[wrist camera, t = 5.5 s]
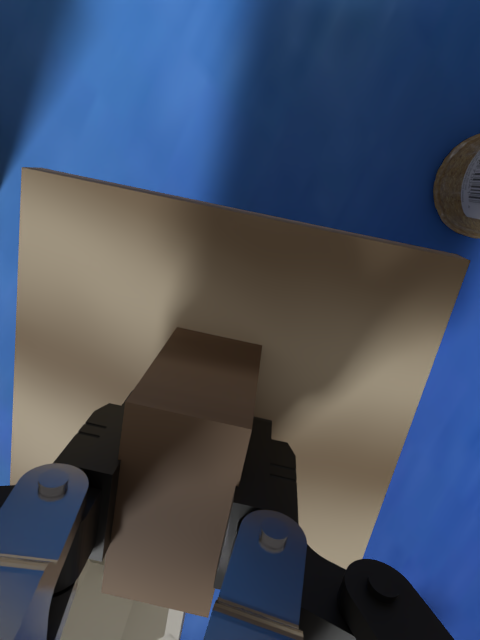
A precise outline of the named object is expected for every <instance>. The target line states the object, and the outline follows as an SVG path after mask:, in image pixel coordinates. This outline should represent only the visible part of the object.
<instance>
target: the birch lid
mask: <svg viewBox="0 0 480 640" xmlns="http://www.w3.org/2000/svg"><path fill="white" fill-rule="evenodd" d="M469 263H470V260H468V259H465V258H463V257H461V256H459V255H457V254H453V253H448V252H443V251H438V250H434V249H429V248H424V247H419V246H414V245H410V244H405V243H400V242H395V241H390V240H386V239H381V238H376V237H371V236H366V235H362V234H357V233H352V232H347V231H342V230H338V229H333V228H328V227H323V226H318V225H314V224H309V223H304V222H299V221H294V220H290V219H285V218H280V217H275V216H270V215H265V214H261V213H256V212H251V211H246V210H241V209H237V208H232V207H227V206H222V205H217V204H213V203H208V202H203V201H198V200H193V199H189V198H184V197H179V196H174V195H169V194H165V193H160V192H155V191H150V190H145V189H141V188H136V187H131V186H126V185H121V184H116V183H112V182H107V181H102V180H97V179H92V178H88V177H83V176H78V175H73V174H68V173H64V172H59V171H54V170H49V169H44V168H29V167H22V177H21V204H20V231H19V258H18V285H17V312H16V339H15V366H14V393H13V420H12V447H11V475H10V485H16V483H17V482H18V480H19V479H20V478H21V477H22V476H23V475H24V474H25V473H26V472H28V471H29V470H31V469H33V468H35V467H38V466H41V465H46V464H52V463H53V462H54V461H55V460H56V458H57V457H58V456H59V455H60V453H61V452H62V451H63V450H64V448H65V447H66V446H67V445H68V443H69V442H70V441H71V440H72V438H73V437H74V436H75V435H76V433H78V431H79V430H80V428H81V427H82V426H83V425H84V424H85V423H86V421H87V420H88V418H89V417H90V416H91V415H92V413H93V412H94V411H95V410H97V409H99V408H101V407H103V406H105V405H107V404H109V403H112V404H116V405H121V406H122V404H123V403H124V401H125V400H126V398H127V397H128V396H129V394H130V393H131V391H132V390H133V391H132V393H131V394H130V396H129V397H128V398H127V400H126V401H125V408H124V416H123V424H122V432H121V439H120V447H119V455H118V460H121V464H120V472H119V479H118V487H117V495H116V502H115V510H114V518H113V526H112V533H111V541H110V545H109V548H108V550H107V552H106V558H105V566H104V573H103V581H102V589H101V593H104V594H109V595H113V596H117V597H121V598H126V599H130V600H134V601H139V602H143V603H147V604H152V605H156V606H160V607H165V608H169V609H173V610H177V611H182V612H186V613H190V614H195V615H199V616H203V617H208V615H209V611H210V607H211V603H212V598H213V594H214V590H215V588H213V586H214V581H215V575H216V569H217V564H218V560H219V556H220V551H221V547H222V543H223V538H224V534H225V530H226V525H227V521H228V517H229V512H230V508H231V504H232V499H233V495H234V491H235V486H238V487H239V483H240V479H241V474H242V470H243V466H244V461H245V457H246V453H247V449H248V444H249V440H250V436H251V431H252V425H253V417H259V418H263V419H268V420H272V434H271V439H274V440H278V441H283V442H287V443H288V444H289V446H290V447H291V449H292V450H293V452H294V454H295V455H296V475H297V481H296V483H297V498H298V521H299V526H300V527H301V528H302V530H303V531H304V533H305V536H306V539H307V544H308V545H309V546H310V547H311V549H313V550H314V551H315V552H316V553H317V554H319V555H320V556H321V557H323V558H325V559H327V560H328V561H330V562H332V563H334V564H336V565H338V566H340V567H342V568H344V569H347V567H348V566H349V565H350V564H351V563H352V562H354V561H356V560H359V559H362V558H363V555H364V552H365V550H366V547H367V544H368V541H369V539H370V536H371V533H372V530H373V528H374V525H375V522H376V519H377V516H378V514H379V511H380V508H381V505H382V503H383V500H384V497H385V494H386V492H387V489H388V486H389V483H390V481H391V478H392V475H393V472H394V470H395V467H396V464H397V461H398V459H399V456H400V453H401V450H402V448H403V445H404V442H405V439H406V437H407V434H408V431H409V428H410V426H411V423H412V420H413V417H414V414H415V412H416V409H417V406H418V403H419V401H420V398H421V395H422V392H423V390H424V387H425V384H426V381H427V379H428V376H429V373H430V370H431V368H432V365H433V362H434V359H435V357H436V354H437V351H438V348H439V346H440V343H441V340H442V337H443V335H444V332H445V329H446V326H447V324H448V321H449V318H450V315H451V312H452V310H453V307H454V304H455V301H456V299H457V296H458V293H459V290H460V288H461V285H462V282H463V279H464V277H465V274H466V271H467V268H468V266H469Z"/></svg>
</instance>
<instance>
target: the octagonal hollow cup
mask: <svg viewBox="0 0 480 640" xmlns="http://www.w3.org/2000/svg"><path fill="white" fill-rule="evenodd" d="M105 558H106V554H105V556H104V558H103V560H102V562H100V561H96V560H92V559H88V560H87V562H86V564H85V566H84V568H83V570H82V572H81V574H80V576H79V581H78V587H77V591H76V593H75V596H74V599H73V602H72V605H71V608H70V611H69V614H68V617H67V620H66V623H65V626H64V629H63V631H62V634H61V637H60V640H180V637H181V632H182V627H183V623H184V618H185V613H186V612H182V611H177V610H173V609H169V608H165V607H160V606H156V605H152V604H147V603H143V602H139V601H134V600H130V599H126V598H121V597H117V596H113V595H109V594H104V593H101V589H102V581H103V573H104V566H105Z"/></svg>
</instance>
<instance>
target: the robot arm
mask: <svg viewBox="0 0 480 640" xmlns="http://www.w3.org/2000/svg"><path fill="white" fill-rule="evenodd" d="M132 391H133V390H132ZM132 391H131V393H132ZM131 393H130V394H131ZM130 394H129V396H130ZM129 396H128V397H129ZM128 397H127V398H128ZM127 398H126V400H127ZM126 400H125V401H126ZM125 401H124V403H123V404H122V406H121V405H116V404H112V403H109V404H107V405H105V406H103V407H101V408H99V409H97V410H95V411H94V412H93V413H92V415H91V416H90V417H89V418H88V420H87V421H86V423H85V424H84V425H83V426H82V427H81V428H80V430H79V431H78V433H76V435H75V436H74V437H73V438H72V440H71V441H70V442H69V443H68V445H67V446H66V447H65V448H64V450H63V451H62V452H61V453H60V455H59V456H58V457H57V458H56V460H55V461H54V462H53V463H52V464H46V465H41V466H38V467H35V468H33V469H31V470H29V471H28V472H26V473H25V474H24V475H23V476H22V477H21V478H20V479H19V480H18V482H17V483H16V485H10V486H0V640H60V637H61V634H62V631H63V629H64V626H65V623H66V620H67V617H68V614H69V611H70V608H71V605H72V602H73V599H74V596H75V593H76V591H77V587H78V581H79V576H80V574H81V572H82V570H83V568H84V566H85V564H86V562H87V560H88V559H92V560H96V561H100V562H102V560H103V558H104V556H105V554H106V552H107V550H108V548H109V545H110V541H111V533H112V526H113V518H114V510H115V502H116V495H117V487H118V479H119V472H120V464H121V460H118V455H119V447H120V439H121V432H122V424H123V416H124V408H125ZM271 434H272V420H268V419H263V418H259V417H253V425H252V431H251V436H250V440H249V444H248V449H247V453H246V457H245V461H244V466H243V470H242V474H241V479H240V483H239V487H238V486H235V491H234V495H233V499H232V504H231V508H230V512H229V517H228V521H227V525H226V530H225V534H224V538H223V543H222V547H221V551H220V556H219V560H218V564H217V569H216V575H215V581H214V586H213V588H216V589H220V593H219V597H218V600H216V602H215V604H214V607H213V610H212V613H211V617H210V620H209V623H208V626H207V629H206V633H205V636H204V639H203V640H454V639H453V637H452V636H451V635H450V634H449V632H448V631H447V630H446V628H445V627H444V626H443V625H442V623H441V622H440V621H439V620H438V618H437V617H436V616H435V614H434V613H433V612H432V611H431V609H430V608H429V607H428V605H427V604H426V603H425V602H424V600H423V599H422V598H421V597H420V595H419V594H418V593H417V591H416V590H415V589H414V588H413V586H412V585H411V584H410V583H409V581H408V580H407V579H406V578H405V577H404V576H403V575H402V574H401V573H399V572H398V571H397V570H395V569H394V568H392V567H391V566H389V565H387V564H385V563H383V562H380V561H377V560H372V559H359V560H356V561H354V562H352V563H351V564H350V565H349V566H348V567H347V569H344V568H342V567H340V566H338V565H336V564H334V563H332V562H330V561H328V560H327V559H325V558H323V557H321V556H320V555H319V554H317V553H316V552H315V551H314V550H313V549H311V547H310V546H309V545H308V544H307V539H306V536H305V533H304V531H303V530H302V528H301V527H300V526H299V521H298V498H297V483H296V481H297V475H296V455H295V454H294V452H293V450H292V449H291V447H290V446H289V444H288V443H287V442H283V441H278V440H274V439H271Z"/></svg>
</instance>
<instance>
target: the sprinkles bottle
mask: <svg viewBox="0 0 480 640" xmlns="http://www.w3.org/2000/svg"><path fill="white" fill-rule="evenodd" d="M433 193H434V202H435V207H436V209H437V211H438V214H439V216H440V218H441V220H442V221H443V223H444V224H445V225H447V226H448V227H449V228H451V229H452V230H453V231H455V232H457V233H459V234H462V235H465V236H468V237H471V238H480V134H477V135H475V136H472V137H470V138H468V139H466V140H465V141H463V142H461V143H460V144H459V145H457V146H456V147H455V148H453V149H452V151H451V152H450V153H449V155H448V156H447V157H446V158H445V159H444V161H443V163H442V165H441V166H440V167H439V169H438V172H437V174H436V179H435V182H434V188H433Z"/></svg>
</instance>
